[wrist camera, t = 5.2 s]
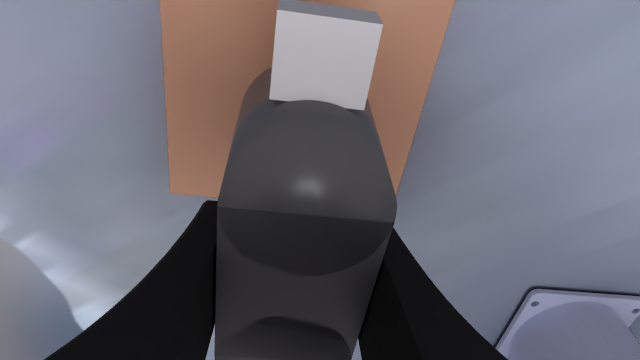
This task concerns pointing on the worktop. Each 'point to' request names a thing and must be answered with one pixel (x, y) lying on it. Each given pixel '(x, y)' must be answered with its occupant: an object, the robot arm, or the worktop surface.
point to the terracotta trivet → (257, 56)
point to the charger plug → (304, 194)
